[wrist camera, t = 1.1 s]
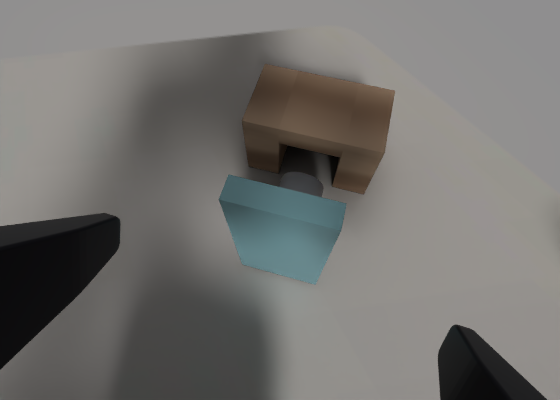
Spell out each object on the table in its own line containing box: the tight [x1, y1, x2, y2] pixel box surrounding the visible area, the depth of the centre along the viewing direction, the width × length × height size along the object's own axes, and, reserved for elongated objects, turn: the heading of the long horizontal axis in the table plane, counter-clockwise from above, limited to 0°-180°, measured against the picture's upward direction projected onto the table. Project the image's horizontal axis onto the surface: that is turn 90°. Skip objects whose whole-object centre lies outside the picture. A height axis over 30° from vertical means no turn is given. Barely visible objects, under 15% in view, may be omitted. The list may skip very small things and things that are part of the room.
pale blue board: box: [219, 172, 346, 284], centre depth 19 cm, size 6×5×10 cm
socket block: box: [242, 64, 395, 194], centre depth 24 cm, size 5×9×6 cm, turn 74°
